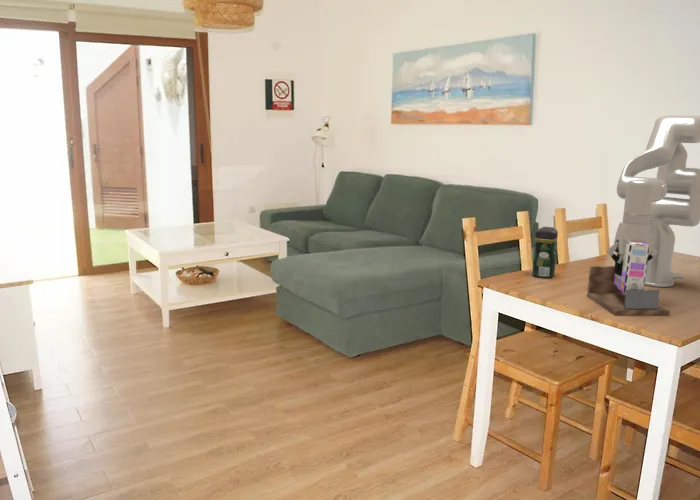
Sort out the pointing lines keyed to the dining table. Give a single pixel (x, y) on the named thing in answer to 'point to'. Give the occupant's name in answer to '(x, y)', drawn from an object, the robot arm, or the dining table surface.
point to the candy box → (633, 267)
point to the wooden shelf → (613, 293)
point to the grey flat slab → (641, 299)
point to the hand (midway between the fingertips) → (629, 274)
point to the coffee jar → (545, 252)
